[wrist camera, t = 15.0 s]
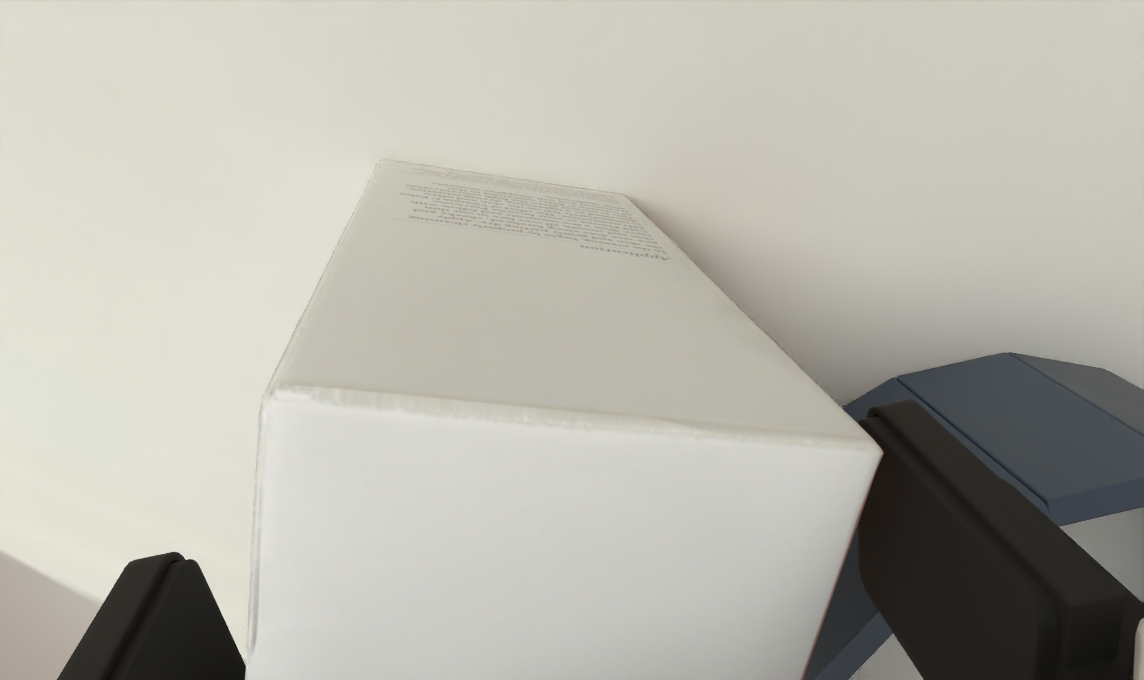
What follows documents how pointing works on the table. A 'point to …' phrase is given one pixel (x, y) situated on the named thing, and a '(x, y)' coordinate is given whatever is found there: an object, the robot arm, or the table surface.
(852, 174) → the table surface
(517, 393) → the small box
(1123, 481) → the blue-grey ring
